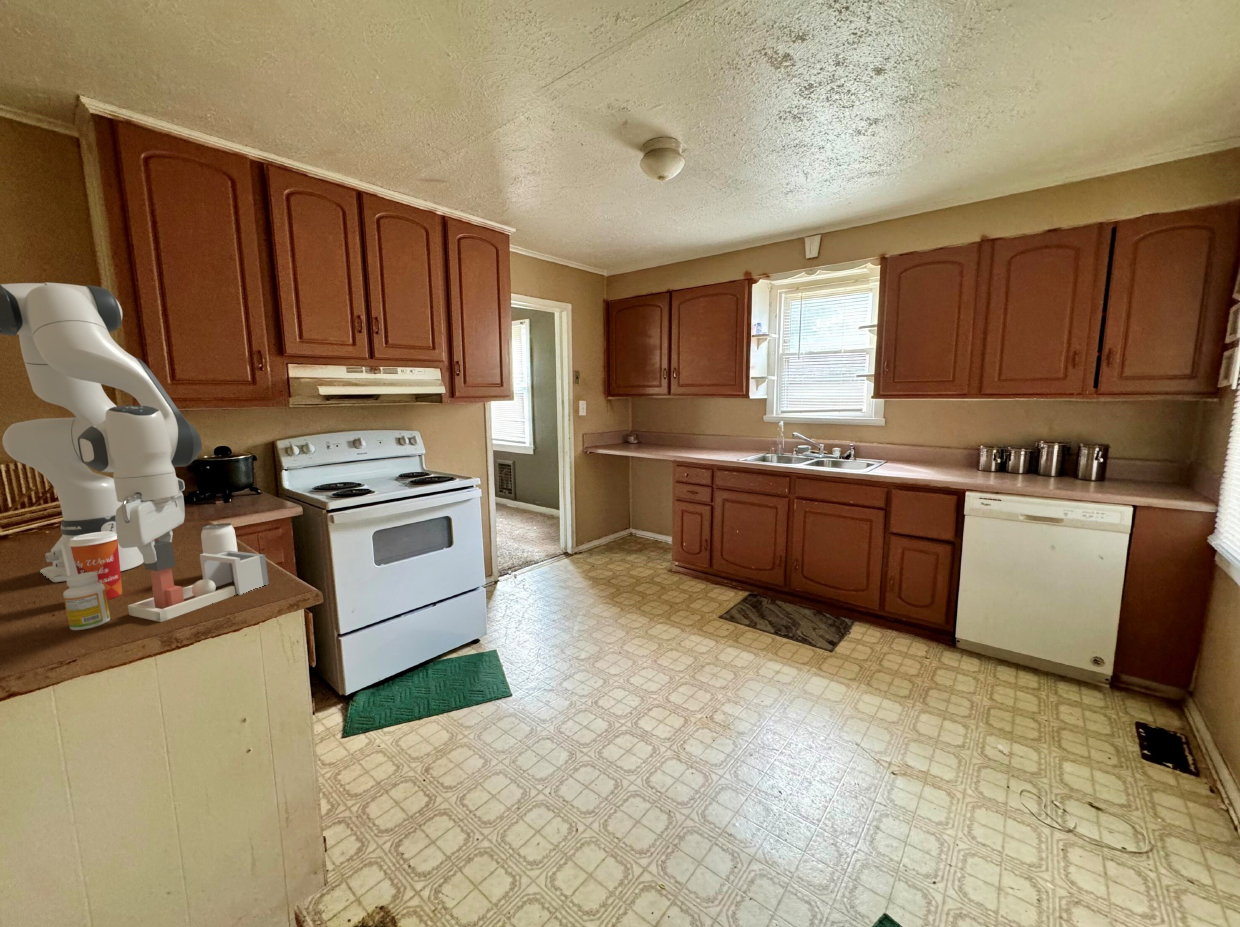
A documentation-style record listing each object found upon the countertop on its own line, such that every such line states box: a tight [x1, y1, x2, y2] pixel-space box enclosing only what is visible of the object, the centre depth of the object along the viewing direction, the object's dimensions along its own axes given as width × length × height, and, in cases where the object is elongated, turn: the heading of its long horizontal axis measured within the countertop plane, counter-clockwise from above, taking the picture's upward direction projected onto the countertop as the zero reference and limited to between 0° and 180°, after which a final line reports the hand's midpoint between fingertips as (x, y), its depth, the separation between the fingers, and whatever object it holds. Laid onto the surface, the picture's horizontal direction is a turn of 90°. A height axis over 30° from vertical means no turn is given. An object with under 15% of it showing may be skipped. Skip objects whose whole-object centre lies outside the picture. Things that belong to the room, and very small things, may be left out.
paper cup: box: [68, 531, 123, 601], centre depth 109 cm, size 8×8×14 cm
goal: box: [199, 551, 270, 596], centre depth 113 cm, size 12×6×8 cm, turn 69°
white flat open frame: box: [127, 584, 237, 623], centre depth 104 cm, size 10×13×2 cm
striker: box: [143, 540, 185, 609], centre depth 100 cm, size 6×3×14 cm, turn 69°
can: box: [200, 522, 239, 555], centre depth 122 cm, size 6×6×12 cm
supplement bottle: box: [62, 572, 111, 631], centre depth 95 cm, size 5×5×10 cm
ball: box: [192, 578, 217, 598], centre depth 107 cm, size 4×4×4 cm
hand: (158, 557), depth 100 cm, fingers closed on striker, 5 cm apart
